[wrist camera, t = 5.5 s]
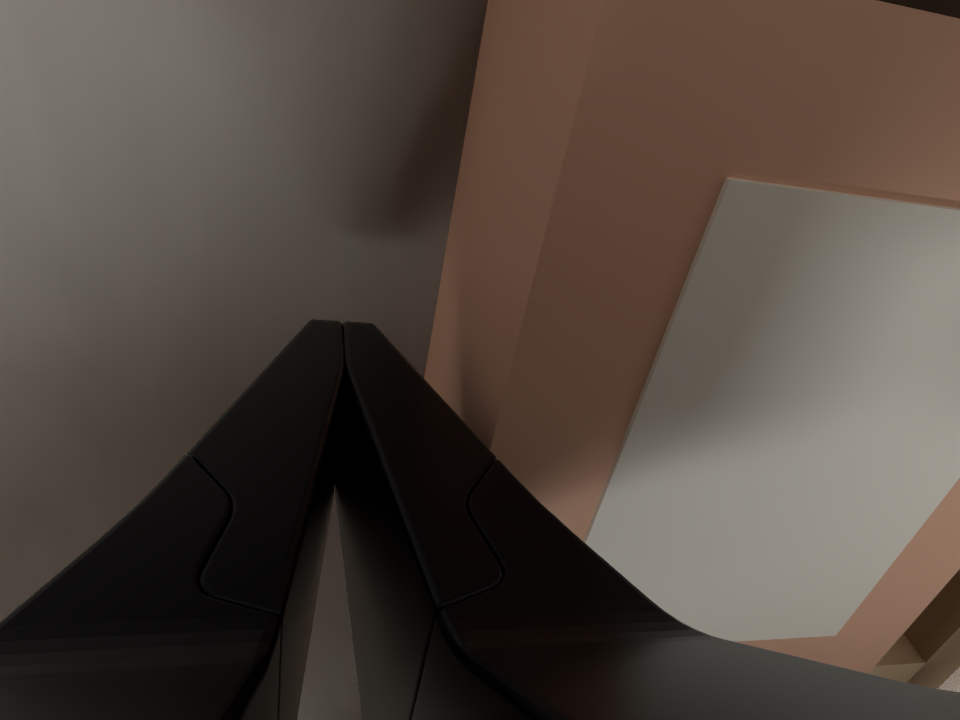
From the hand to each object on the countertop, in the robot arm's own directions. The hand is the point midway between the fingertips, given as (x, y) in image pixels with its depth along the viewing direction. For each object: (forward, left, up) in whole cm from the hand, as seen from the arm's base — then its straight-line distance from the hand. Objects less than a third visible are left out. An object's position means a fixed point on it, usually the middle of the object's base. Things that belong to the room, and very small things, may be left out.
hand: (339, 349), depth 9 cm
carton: (+6, 0, -2) cm, 6 cm away
